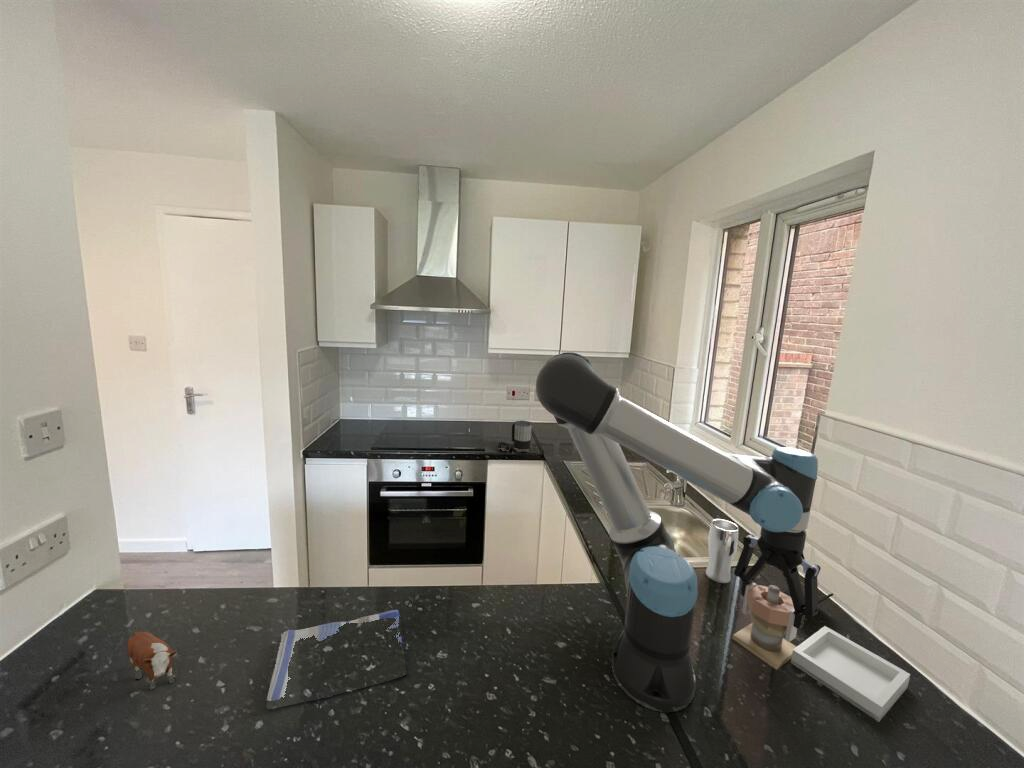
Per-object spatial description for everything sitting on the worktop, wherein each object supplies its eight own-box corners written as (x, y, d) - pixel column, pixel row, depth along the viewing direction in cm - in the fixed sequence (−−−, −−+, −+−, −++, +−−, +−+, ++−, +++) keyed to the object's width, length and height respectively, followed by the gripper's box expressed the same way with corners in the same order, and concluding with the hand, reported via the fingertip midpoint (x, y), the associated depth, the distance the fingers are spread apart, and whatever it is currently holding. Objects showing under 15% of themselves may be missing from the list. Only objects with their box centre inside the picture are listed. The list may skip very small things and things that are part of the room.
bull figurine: (154, 710, 66) (149, 666, 65) (125, 670, 73) (120, 630, 72) (186, 690, 70) (182, 648, 69) (156, 654, 77) (152, 615, 76)
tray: (878, 722, 70) (882, 707, 70) (790, 662, 82) (792, 649, 82) (907, 687, 78) (910, 674, 77) (822, 638, 89) (824, 625, 89)
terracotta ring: (780, 630, 80) (782, 616, 79) (740, 605, 86) (742, 592, 86) (800, 616, 84) (802, 603, 83) (760, 593, 91) (762, 581, 90)
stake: (776, 669, 80) (786, 608, 78) (732, 638, 88) (740, 581, 86) (798, 652, 85) (809, 594, 83) (755, 624, 92) (763, 570, 90)
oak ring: (776, 640, 81) (778, 627, 81) (744, 619, 87) (746, 607, 86) (792, 629, 85) (794, 616, 84) (760, 610, 90) (762, 597, 89)
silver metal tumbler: (736, 586, 106) (743, 533, 104) (707, 582, 107) (714, 529, 105) (727, 571, 113) (734, 520, 110) (701, 566, 114) (707, 517, 112)
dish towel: (282, 638, 83) (281, 626, 82) (401, 616, 90) (401, 605, 90) (260, 717, 67) (260, 702, 66) (408, 681, 74) (408, 668, 74)
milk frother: (534, 450, 211) (536, 423, 208) (514, 457, 199) (515, 428, 197) (514, 444, 220) (515, 417, 218) (493, 450, 208) (494, 422, 206)
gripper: (855, 544, 75) (834, 653, 79) (743, 500, 93) (730, 590, 96) (837, 555, 71) (815, 668, 75) (724, 506, 89) (711, 600, 92)
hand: (767, 624), depth 86 cm, fingers closed on terracotta ring, 8 cm apart
